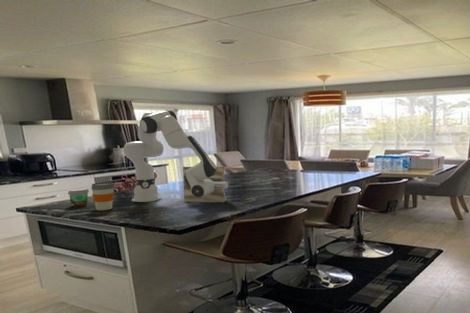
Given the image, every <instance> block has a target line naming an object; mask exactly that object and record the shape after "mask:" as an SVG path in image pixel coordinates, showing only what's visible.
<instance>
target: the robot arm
mask: <svg viewBox="0 0 470 313" xmlns="http://www.w3.org/2000/svg"><path fill="white" fill-rule="evenodd" d="M158 132H161V133H162V135H163V138H164V139H165V141H166V143H167V145H168V146H169V147H171V148H172V149H175V150H181V149H187V148H189V149H191V150H192V151H193V152H194V153H195V155H196V157H198V160H200V161H199V162H198V163H196V164H194V165H193V166H192V167H191V168H189V169H187V170H186V171H185V175H184V179H185V182H186V183H187V185H188V186H189V187H190V188H191V193H192V195H193V196H195V197H197V198H203V197H205V196H207V195H209V194H211V193H213V192H214V190H215V189H225V190H226V189H228V188H229V183H228V181H224V182H213V181H212V180H211V179H207V178H209V177H211V176H214V175H215V173H216V169H217V167H216V166H217V165H216V163H215V162H214V161H213V160H212V159H211V157H209V155H208V154H207V152H206V151H205V150H204V148H203V147H202V146H201V145H200V143H199V142H198V141H197V140H196V139H195V137H194V136H192V135H189V134H186V133H185V132H184V130H183V128H182V126H181V125H180V123H179V122H178V117H177V114H176V113H175V112H174V111H173V109H165V110H161V111H156V112H152V111H146V112H144V113H143V114H142V116H141V119H140V122H139V125H138V130H137V137H138V139H139V140H137V141H136V140H135V141H131V142H127V143H124V146H123V150H122V152H123V155H124V157H126V158H127V159H129V160H130V162H132V164H133V165H134V168H135V174H136V179H135V185H136V186H135V187H134V189H133V197H132V199H131V202H137V203H149V202H155V201H158V200H159V201H160V200H161V199H162V198H161V196H159V192H158V186H156V178H155V175H154V174H155V173H154V166H153V165H152V164H151V163H148V162H146V161H145V158H157V157H160V156H162V155H163V153H164V145H163V143H162V142H161V141H159V140H158V139H157V133H158Z"/></svg>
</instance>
